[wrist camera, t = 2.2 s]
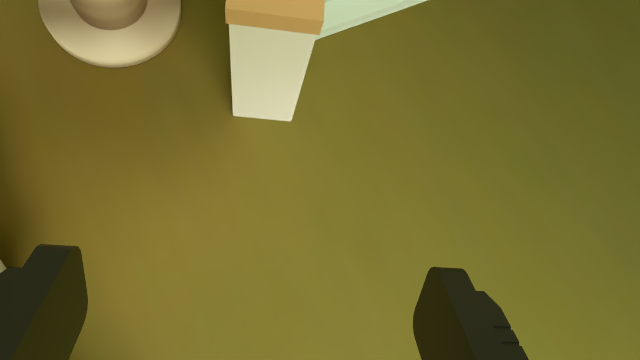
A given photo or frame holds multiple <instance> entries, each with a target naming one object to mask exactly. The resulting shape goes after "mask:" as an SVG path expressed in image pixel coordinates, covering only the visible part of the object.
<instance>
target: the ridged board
mask: <svg viewBox="0 0 640 360" xmlns="http://www.w3.org/2000/svg"><path fill="white" fill-rule="evenodd" d="M424 1H427V0H325V8H324V22H323V26H322V29H321V32H320V35H316V38H315V40H317V39H320V38H322V37H325V36H328V35H331V34H334V33H337V32H339V31H342V30H345V29H348V28H351V27H354V26H356V25H359V24H362V23H365V22H368V21H371V20H373V19H376V18H379V17H382V16H385V15H388V14H390V13H393V12H396V11H399V10H402V9H405V8H407V7H410V6H413V5H416V4H419V3H422V2H424Z"/></svg>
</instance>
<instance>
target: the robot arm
mask: <svg viewBox="0 0 640 360" xmlns="http://www.w3.org/2000/svg"><path fill="white" fill-rule="evenodd" d="M87 305H88V296H87V289H86V282H85V275H84V268H83V262H82V255H81V251H80V248H79V247H78V246H64V245H46V244H40V245H38V246H37V247H36V248H35V249H34V251H33V252H32V254H31V255H30V257H29V258H28V260H27V261H26V263H25V264H24V266H23V268H17V267H8V268H7V269H5V270H4V271H2V272H1V273H0V360H68V359H69V357H70V354H71V352H72V350H73V347H74V345H75V343H76V340H77V338H78V336H79V334H80V331H81V329H82V327H83V324H84V321H85V317H86V313H87ZM413 331H414V336H415V340H416V343H417V346H418V350H419V353H420V356H421V359H422V360H529V359H528V357H527V356H526V354H525V352H524V350H523V348H522V346H519V341H518V339H517V337H516V335H515V333H514V332H513V330H511V326H510V324H509V322H508V320H507V319H506V317H505V315H504V313H503V311H502V309H501V308H500V307H499V306H498V305H497V304H496V303H495V302H494V301H493V300H492V299H491V298H490V297H489V296H488V295H487V294H486V293H485V292H484V291H476V290H475V288H474V286H473V284H472V282H471V280H470V278H469V276H468V274H467V273H466V271H465V270H463V269H459V268H441V267H432V268H430V270H429V271H428V274H427V276H426V279H425V282H424V285H423V288H422V291H421V294H420V296H419V299H418V302H417V305H416V308H415V311H414V316H413Z"/></svg>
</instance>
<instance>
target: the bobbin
mask: <svg viewBox="0 0 640 360" xmlns="http://www.w3.org/2000/svg"><path fill="white" fill-rule="evenodd" d="M38 5H39V12H40V15H41V18H42V20H43V22H44V24H45V26H46V28H47V29H48V31H49V32H50V33H51V35H52V36H53V37H54V39H55V40H56V42H57V43H58V44H59V45H60V46H61V47H62V48H63V49H64V50H65V51H66V52H68V53H69V54H70V55H72V56H73V57H75V58H77V59H79V60H81V61H83V62H85V63H88V64H91V65H94V66H99V67H106V68H123V67H130V66H134V65H137V64H141V63H143V62H146V61H148V60H150V59H151V58H153V57H155V56H156V55H158V54H159V53H161V52H162V51H163V50H164V49H165V48H166V47H167V46H168V45H169V44H170V43H171V41H172V40H173V38H174V37H175V35H176V33H177V31H178V29H179V26H180V22H181V17H182V4H181V0H38Z"/></svg>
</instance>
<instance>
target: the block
mask: <svg viewBox="0 0 640 360" xmlns="http://www.w3.org/2000/svg"><path fill="white" fill-rule="evenodd" d="M324 8H325V0H226V4H225V17H226V24H229V37H230V59H231V82H232V104H233V116H241V117H251V118H261V119H272V120H282V121H291V120H292V117H293V113H294V110H295V107H296V103H297V100H298V96H299V93H300V89H301V86H302V83H303V79H304V76H305V72H306V69H307V66H308V62H309V59H310V55H311V52H312V49H313V45H314V42H315V38H316V35H320V32H321V29H322V26H323V22H324Z"/></svg>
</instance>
